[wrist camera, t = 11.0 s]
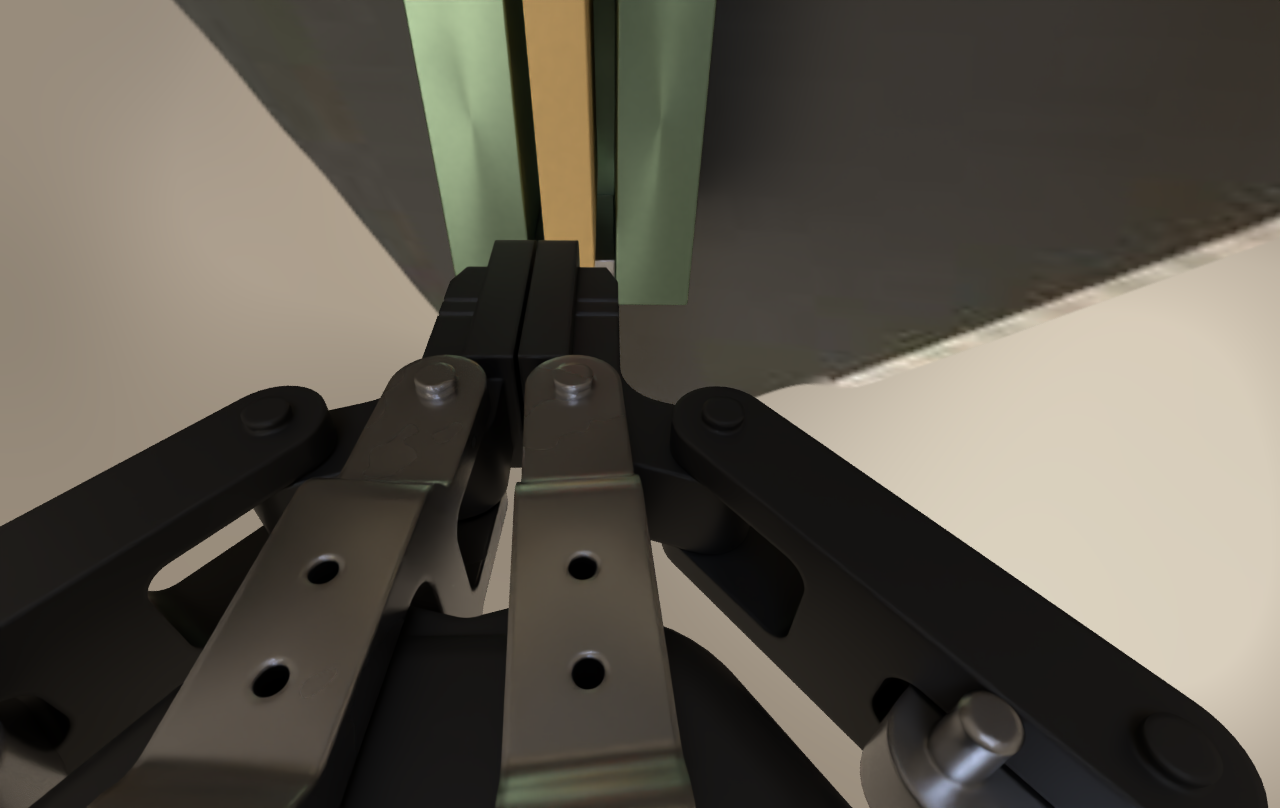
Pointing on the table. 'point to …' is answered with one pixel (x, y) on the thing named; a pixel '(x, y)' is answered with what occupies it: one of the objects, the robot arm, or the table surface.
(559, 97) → the toast
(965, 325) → the table surface
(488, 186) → the toaster
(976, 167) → the table surface
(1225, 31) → the table surface
